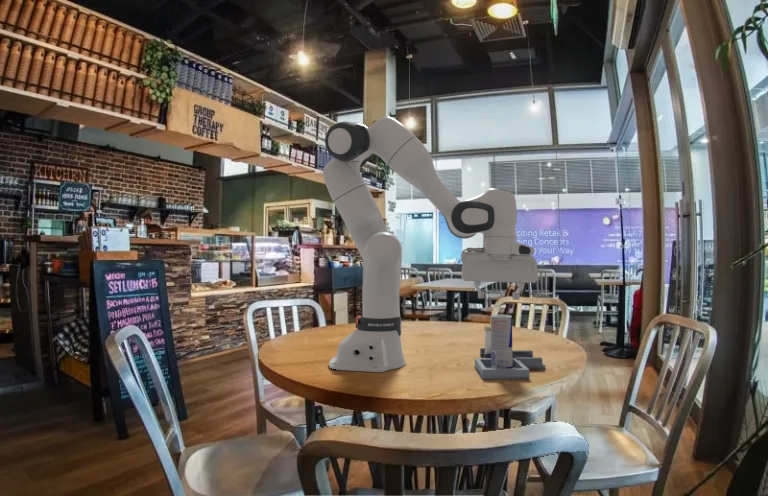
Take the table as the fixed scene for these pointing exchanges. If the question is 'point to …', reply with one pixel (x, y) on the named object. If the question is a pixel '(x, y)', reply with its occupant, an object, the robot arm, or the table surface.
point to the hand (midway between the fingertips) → (498, 298)
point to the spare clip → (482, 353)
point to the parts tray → (501, 370)
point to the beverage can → (501, 341)
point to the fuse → (487, 338)
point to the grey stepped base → (528, 359)
